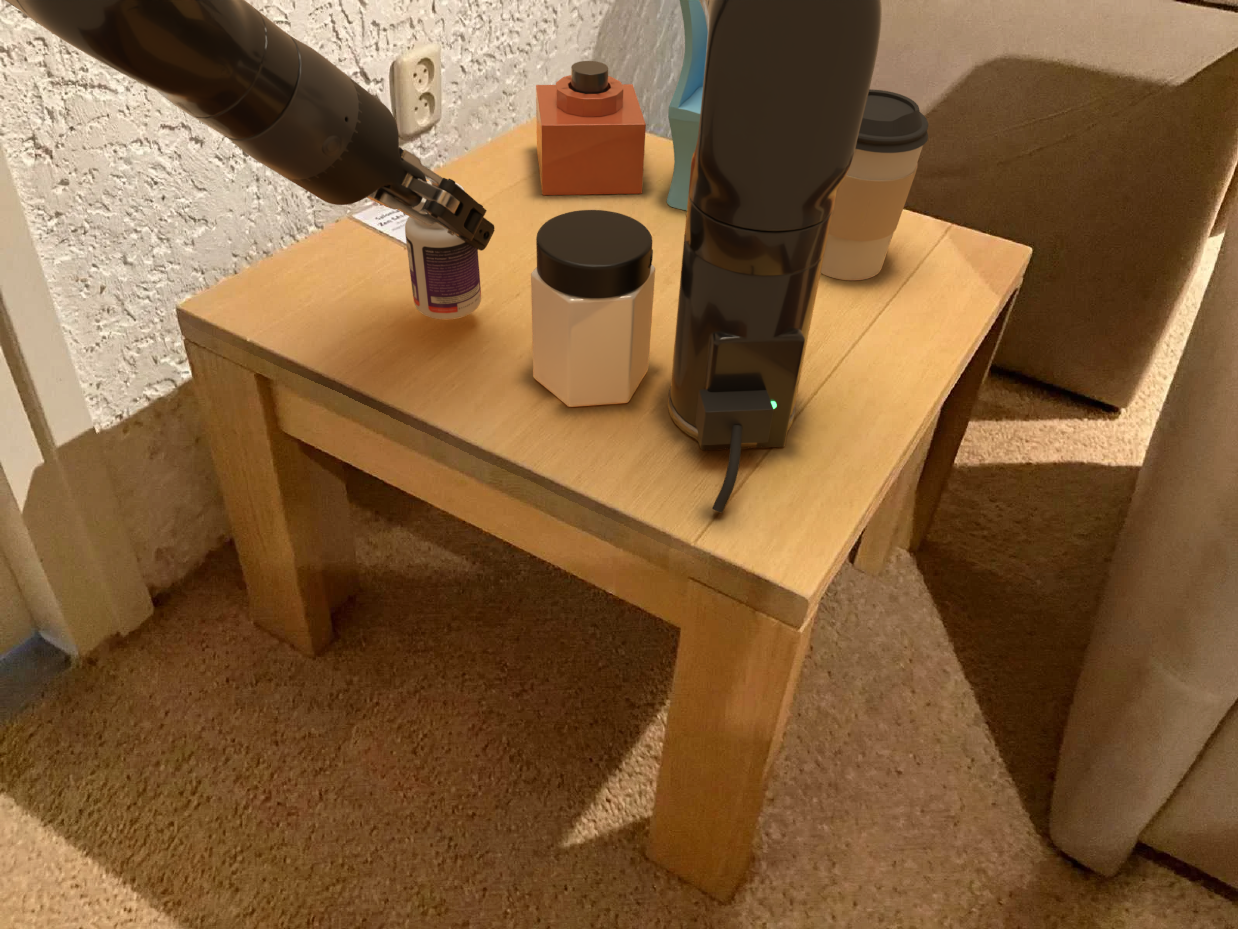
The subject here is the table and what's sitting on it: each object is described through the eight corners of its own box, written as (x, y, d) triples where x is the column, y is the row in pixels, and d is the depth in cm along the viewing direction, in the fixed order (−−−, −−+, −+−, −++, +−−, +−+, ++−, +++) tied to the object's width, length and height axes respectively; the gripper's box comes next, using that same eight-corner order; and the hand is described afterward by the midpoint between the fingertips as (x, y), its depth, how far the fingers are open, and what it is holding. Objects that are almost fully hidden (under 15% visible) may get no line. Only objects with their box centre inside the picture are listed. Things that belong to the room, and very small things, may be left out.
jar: (669, 384, 77) (681, 245, 69) (585, 424, 73) (588, 282, 65) (597, 330, 82) (600, 195, 74) (515, 365, 78) (509, 226, 70)
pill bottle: (495, 298, 81) (489, 187, 75) (452, 329, 78) (442, 215, 71) (443, 278, 83) (432, 168, 77) (399, 307, 80) (385, 194, 73)
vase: (661, 204, 99) (677, -10, 85) (688, 172, 104) (707, -34, 91) (737, 222, 97) (765, 5, 83) (761, 188, 102) (791, -20, 89)
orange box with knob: (641, 193, 100) (647, 105, 94) (542, 195, 99) (541, 106, 93) (629, 150, 108) (633, 66, 102) (536, 151, 107) (535, 66, 101)
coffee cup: (775, 256, 92) (801, 94, 82) (837, 227, 97) (869, 70, 87) (853, 298, 87) (891, 131, 77) (914, 265, 92) (957, 104, 82)
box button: (609, 96, 97) (610, 74, 95) (572, 96, 96) (572, 74, 95) (605, 82, 99) (606, 60, 98) (569, 82, 99) (569, 60, 97)
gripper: (414, 96, 59) (550, 211, 74) (262, 38, 65) (415, 155, 81) (357, 210, 59) (504, 301, 74) (211, 141, 66) (374, 238, 81)
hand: (457, 224), depth 77 cm, fingers closed on pill bottle, 5 cm apart
